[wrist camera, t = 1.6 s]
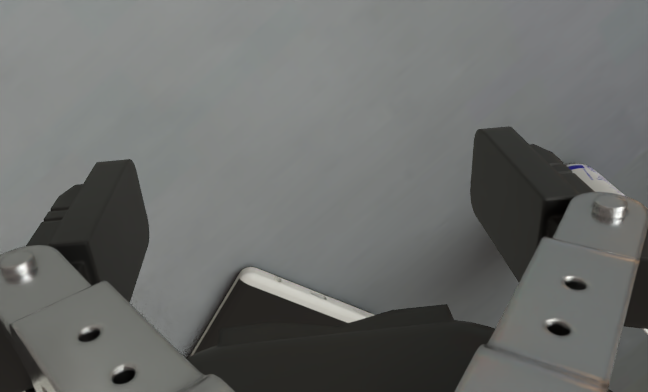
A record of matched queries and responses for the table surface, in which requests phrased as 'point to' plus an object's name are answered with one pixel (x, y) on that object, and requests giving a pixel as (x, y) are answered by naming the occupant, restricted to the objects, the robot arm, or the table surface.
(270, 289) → the smartphone
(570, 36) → the table surface
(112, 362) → the robot arm
